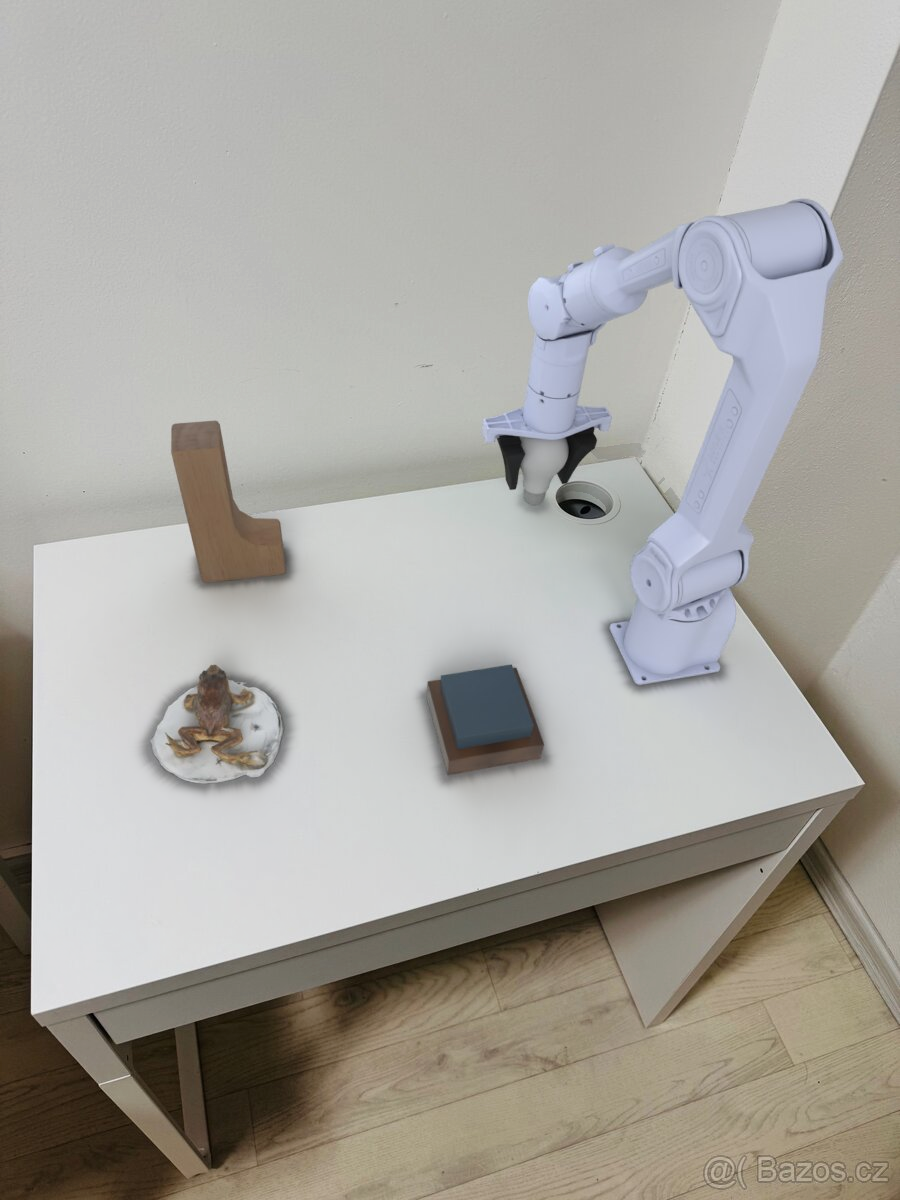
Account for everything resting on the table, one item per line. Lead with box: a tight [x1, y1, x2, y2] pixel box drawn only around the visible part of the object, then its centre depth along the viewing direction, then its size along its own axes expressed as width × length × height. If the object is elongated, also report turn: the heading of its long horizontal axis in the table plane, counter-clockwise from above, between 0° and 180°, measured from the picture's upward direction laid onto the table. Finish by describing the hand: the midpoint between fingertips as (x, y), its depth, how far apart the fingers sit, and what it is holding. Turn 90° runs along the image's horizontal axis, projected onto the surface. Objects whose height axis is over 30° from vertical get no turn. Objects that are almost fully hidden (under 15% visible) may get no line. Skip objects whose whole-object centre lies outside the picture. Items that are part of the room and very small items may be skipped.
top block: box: [439, 664, 533, 750], centre depth 78 cm, size 7×7×2 cm
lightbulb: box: [520, 437, 569, 506], centre depth 98 cm, size 6×6×11 cm
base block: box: [425, 667, 545, 776], centre depth 79 cm, size 9×9×2 cm
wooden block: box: [170, 420, 287, 584], centre depth 86 cm, size 9×4×18 cm, turn 102°
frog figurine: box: [149, 664, 284, 785], centre depth 77 cm, size 12×12×4 cm
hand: (536, 481), depth 100 cm, fingers closed on lightbulb, 6 cm apart
